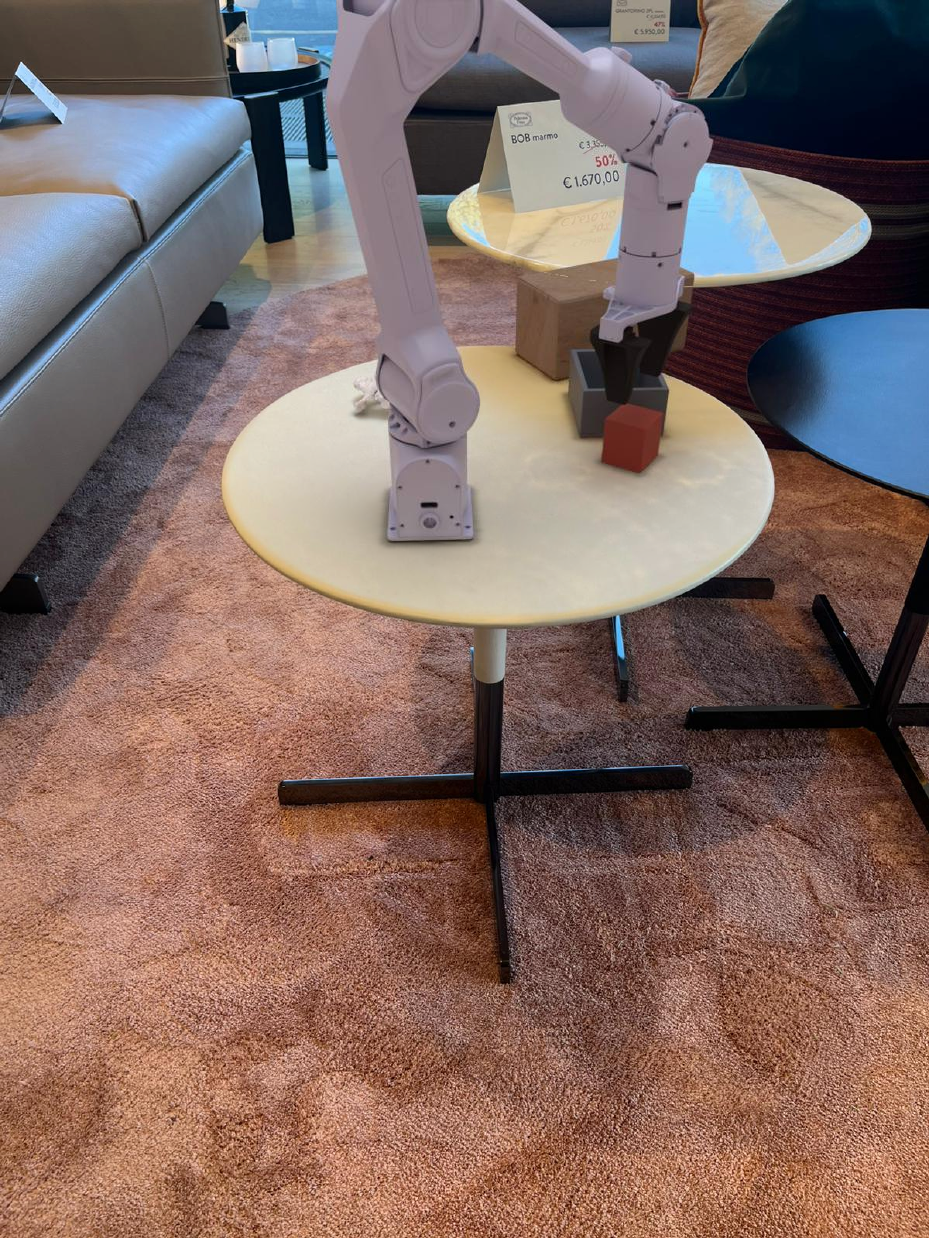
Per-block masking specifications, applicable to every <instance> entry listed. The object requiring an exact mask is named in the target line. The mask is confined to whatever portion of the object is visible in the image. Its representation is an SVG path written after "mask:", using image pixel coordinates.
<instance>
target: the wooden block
mask: <svg viewBox="0 0 929 1238" xmlns="http://www.w3.org/2000/svg"><path fill="white" fill-rule="evenodd" d="M617 262H618V257H615V258H607V259H604V260H599V261H593V262H587V263H583V264H576V265H572V266H567V267H560V268H555V269H550V270H546V271H540V272H533V273H530V274H529V273H528V274H524V275H519V276H518V277H517V279H516V307H515V308H516V309H515V310H516V311H515V317H516V318H515V342H514V343H515V344H514V345H515V347H514V348H515V349H514V350H515V351H514V352H515V353H516V354H517V355H518V356H520V357H521V358H522V359H524V360H525V361H526V362H528V363H530V364H531V365H532V366H534V367H535V368H537V369H538V370H540V371H541V372H543V373H544V374H545V375H547V376H548V377H550V378H551V379H553V380H555V381H558V380H562V379H566V378H569V371H570V356H571V350H578V349H594V348H593V346H592V344H591V342H590V330H591V329H593V328H594V327H596V326H597V325H598V324H600V319H601V317H603V316H604V315H605V314H606V312H607V309H608V306H609V303H610V300H608V299H605V298H603V291H604V290H605V289H607V288H608V287H610V286H615V283H616V273H617ZM544 272H547V273H544ZM548 273H550V274H548ZM556 274H558V275H556ZM560 275H565V276H568V277H565V276H560ZM679 275H680V276H685V280H684V286H693V287H691V288H683V294H682V296H681V297H679V298H678V301H681V302H686V303H689V304H691V303H692V298H693V290H694V283H695V274H694V272H692V271H691V270H687V269H686V268H683V267H681V266H680V269H679ZM589 280H596V281H589ZM606 282H608V283H606ZM691 305H692V304H691ZM689 318H690V314H689V315H688V317H687V318H686V319H685V321H684V323H683V324H682V326H681V327H680V329H679V331H678V333H677V335H676V337H675V339H674V342H673V344H672V347H671V349H670V352H669V354H671V353H675V352H680V351H683V350H684V348H685V344H686V338H687V331H688V324H689ZM632 327H633V333H634V332H635V333H636V336H637V337H639V334H638V326H637V323H636V324H635V325H633V326H632Z"/></svg>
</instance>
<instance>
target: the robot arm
mask: <svg viewBox="0 0 929 1238" xmlns="http://www.w3.org/2000/svg"><path fill="white" fill-rule="evenodd" d="M335 5H336V14H337V15H336V17H337V25H338V26H337V31H336V37H335V42H334V48H333V52H332V58H331V64H330V68H329V74H328V78H327V79H328V80H327V84H326V90H325V95H324V96H325V97H324V105H325V113H326V118H327V121H328V125H329V128H330V129H329V130H330V132H331V136H332V137H331V138H332V141H333V144H334V148H335V152H336V156H337V160H338V164H339V168H340V172H341V176H342V179H343V184H344V188H345V191H346V195H347V198H348V202H349V207H350V211H351V214H352V219H353V222H354V226H355V230H356V235H357V238H358V242H359V246H360V249H361V252H362V257H363V261H364V265H365V270H366V272H367V276H368V280H369V284H370V287H371V288H370V289H371V292H372V296H373V300H374V304H375V309H376V311H377V315H378V319H379V323H380V327H381V331H380V332H379V333H378V334H377V335H376V337H375V340H374V341H375V342H374V343H375V345H376V350H377V364H376V368H375V375H376V376H375V378H376V385H377V388H378V390H379V392H380V394H381V395H382V397H383V398H384V399H386V400H387V401H388V402H390V403H389V407H390V408H389V411H388V412H389V413H388V417H387V429H388V447H389V460H390V461H389V462H390V476H391V487H390V488H389V501H388V502H389V504H388V518H387V519H388V520H387V532H386V537H387V540H388V541H391V542H400V541H401V542H403V541H407V542H409V541H449V540H450V541H451V540H453V541H454V540H471V539H473V538H474V522H473V520H474V519H473V506H472V489H471V485H470V484H469V483H468V431H470V429H472V427H473V426H474V424H475V423H476V420H477V418H478V416H479V413H480V408H481V398H480V392H479V390H478V388H477V386H476V384H475V383H474V382H473V380H471V379H470V378H469V376H468V375H467V374H466V372H465V369H464V365H463V360H462V356H461V354H460V352H459V350H458V348H457V347H456V344H455V342H454V340H453V339H452V338H451V335H450V334H449V331H448V329H447V328H446V326H445V324H444V323H445V322H444V318H443V313H442V309H441V302H440V299H439V295H438V290H437V285H436V284H437V283H436V280H435V273H434V271H433V265H432V260H431V256H430V251H429V246H428V241H427V235H426V231H425V227H424V222H423V217H422V212H421V207H420V203H419V198H418V193H417V187H416V182H415V179H414V174H413V173H414V172H413V168H412V164H411V159H410V155H409V149H408V144H407V139H406V134H405V130H404V123H405V120H406V119H407V117H408V116H409V114H410V113H411V111H412V110H413V108H414V107H415V105H416V103H417V102H418V100H419V99H420V97H421V95H422V94H424V93H425V92H426V91H427V90H428V89H429V88H430V87H432V86H433V84H435V83H436V82H438V81H439V79H441V78H442V77H443V76H444V75H445V74H446V73H447V72H449V71H450V70H451V69H452V68H453V67H454V66H455V65H456V64H458V62H460V61H461V60H462V59H463V57H464V56H465V55H466V54H467V53H468V54H470V55H475V56H478V57H479V56H484V55H487V54H492V55H493V56H495V57H497V58H499V59H500V60H503V61H504V62H505V63H507V64H509V65H510V66H511V67H514V69H517V70H518V71H520V72H521V73H523V74H525V75H526V76H528V77H530V78H532V79H534V80H536V81H537V82H539V83H540V84H542V85H543V86H545V87H547V88H549V89H550V90H552V91H553V92H555V93H557V94H558V95H559V102H560V110H561V113H562V115H563V118H564V119H565V120H566V121H567V122H568V123H570V124H571V125H573V126H574V127H576V128H577V129H579V130H581V131H583V132H584V133H586V134H587V135H589V136H590V137H592V138H593V139H595V140H597V141H599V142H600V143H601V144H603V145H604V146H606V147H607V148H609V149H611V150H612V151H614V152H615V154H616V156H617V158H618V160H619V162H621V163H622V164H626V168H625V169H626V170H625V179H624V180H625V181H624V190H623V192H624V193H623V202H622V210H621V211H622V212H621V221H620V222H621V223H620V232H619V243H618V251H617V252H618V254H617V258H618V262H617V273H616V283H615V286H610V287H608V288H607V289H605V290H604V291H603V298H605V299H608V300H610V303H609V306H608V309H607V312H606V314H605V315H604V316H603V317H601V319H600V324H598V325H597V326H596V327H594V328H593V329H591V330H590V342H591V344H592V346H593V348H594V350H595V352H596V354H597V356H598V359H599V362H600V365H601V369H602V375H603V380H604V387H605V393H606V398H607V401H611V402H614V403H618V404H622V405H626V404H627V403H628V402H629V400H630V397H631V394H632V391H633V387H634V383H635V378H636V374H637V371H638V368H639V369H640V373H642V374H646V375H651V376H655V377H659V376H660V375H661V373H662V374H663V371H664V369H665V366H666V363H667V361H668V357H669V355H670V353H669V352H670V349H671V347H672V344H673V342H674V339H675V337H676V335H677V333H678V331H679V329H680V327H681V326H682V324H683V323H684V321H685V319H686V318H687V317H688V315H689V316H690V314H691V312H692V304H689V303H686V302H681V301H678V298H679V297H681V296H682V294H683V287H684V280H685V276H680V275H679V269H680V267H681V262H682V255H683V254H682V253H683V248H684V247H683V246H684V240H685V232H686V225H687V217H688V210H689V203H690V199H691V197H692V194H693V193H695V190H696V183H697V178H698V175H699V173H700V171H701V170H702V168H703V167H704V166H705V164H706V162H707V160H708V158H709V156H710V154H711V152H712V148H713V144H714V139H712V138H711V137H710V133H709V132H710V131H709V126H708V123H707V121H706V120H705V119H706V117H705V115H704V113H703V111H702V110H701V109H700V108H699V107H697V106H695V105H694V104H690V103H687V102H684V101H679V100H675V99H672V97H671V95H670V93H669V92H670V90H671V86H670V85H669V84H667V83H666V82H665V81H664V80H661V79H654V80H653V81H652V80H651V79H650V78H648V77H647V76H645V74H644V73H641V72H640V71H639V70H637V69H636V68H635V67H633V66H632V65H631V61H632V60H633V55H632V54H631V53H630V52H628V51H627V50H626V49H624V48H622V47H619V46H611V47H610V49H609V48H607V47H604V46H599V47H595V48H592V49H590V50H587V51H584V52H582V51H581V50H579V48H577V47H576V46H574V45H573V44H572V42H569V41H568V40H567V39H566V38H565V37H563V36H562V35H561V34H559V33H558V32H557V31H556V30H555V29H554V28H552V27H551V26H549V25H548V24H547V23H545V21H543V20H542V19H540V18H539V16H537V15H536V14H534V13H533V11H531V10H530V9H528V8H527V7H525V6H524V5H523V4H522V3H520V1H518V0H336V1H335ZM636 323H637V326H638V334H639V337H637V336H636V333H635V332H634V333H633V327H632V326H633V325H635V324H636Z"/></svg>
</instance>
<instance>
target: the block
mask: <svg viewBox="0 0 929 1238" xmlns="http://www.w3.org/2000/svg"><path fill="white" fill-rule="evenodd" d="M663 414H664V413H662V412H658V411H654V410H651V409H647V408H643V407H639V406H635V405H631V404H628V403H627V404H626V405H621V406H620V407H619V408H618V409H616V410H615V411H614V412H613V413H612V414H610V415H609V416H608V417H607V418H606V419H605V427H604V437H602V438H603V440H602V447H601V448H602V449H601V458H600V459H601V460H600V462H601V463H603V464H607V465H611V466H613V467H617V468H620V469H624V470H627V471H631V472H634V473H637V474H641V473H642V472H643V471H644V470H645V469H646V468H647V467H648V466H649V465H650V464H651V463H652V462H653V461H654V460H655V459H656V458H657V457H658V456H659V450H660V443H661V437H662V436H661V428H662V421H663Z"/></svg>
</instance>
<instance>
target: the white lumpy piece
mask: <svg viewBox="0 0 929 1238" xmlns="http://www.w3.org/2000/svg"><path fill="white" fill-rule="evenodd" d="M375 376H376V374H372V376H370V379H369V381H370V382H369V383H368V384H367V382H368V377H364V376H359V377H358V378H355V379H354V381H353V388H354V389H355V390H357V391H362V393H363V397H362V398H361V399H360V400H359V401H357V402H354V403H353V407H354V409H355V410H356V411H357V412H359V413H362V411H363V406H364V405H366V403H367V401H368V400H369V399H374V400H376V401H379V402H380V405H381V406H380V407H382V408H383V409H385V410H388V409H390V407H389V403H390V402H388V401H387V400H386V399H384V398H383V397H382V395H381V394H380V392H379V390H378V388H377V385H376V378H375Z"/></svg>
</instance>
